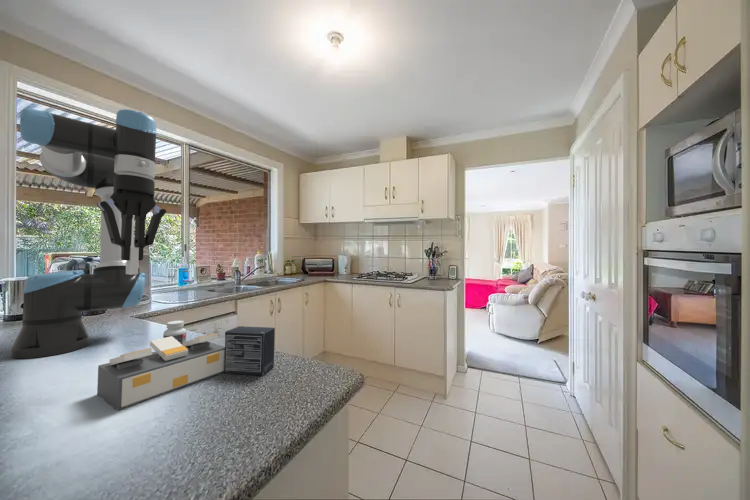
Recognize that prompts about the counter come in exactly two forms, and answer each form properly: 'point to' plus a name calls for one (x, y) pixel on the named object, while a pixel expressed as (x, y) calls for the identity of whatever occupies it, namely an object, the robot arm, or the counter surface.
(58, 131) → the robot arm
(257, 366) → the small box
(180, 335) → the pill bottle
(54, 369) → the counter surface
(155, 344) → the switch
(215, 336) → the switch
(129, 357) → the switch
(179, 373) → the console
